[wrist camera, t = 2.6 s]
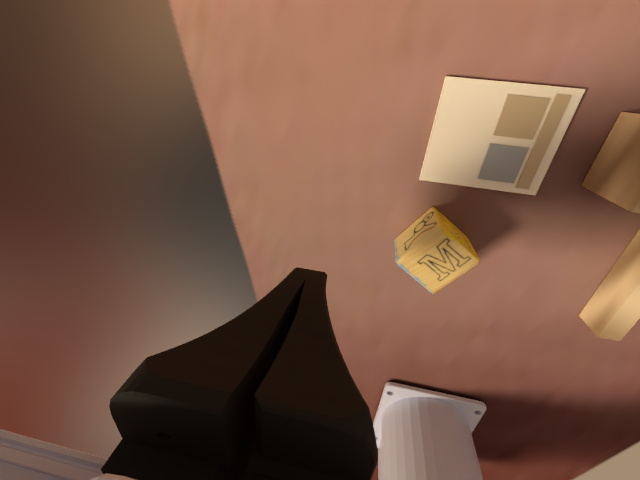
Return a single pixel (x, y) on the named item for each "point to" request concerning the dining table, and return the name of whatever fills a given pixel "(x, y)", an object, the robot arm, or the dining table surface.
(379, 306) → the dining table surface
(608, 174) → the maple cube
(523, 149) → the card
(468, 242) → the alphabet block
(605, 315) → the backstop
